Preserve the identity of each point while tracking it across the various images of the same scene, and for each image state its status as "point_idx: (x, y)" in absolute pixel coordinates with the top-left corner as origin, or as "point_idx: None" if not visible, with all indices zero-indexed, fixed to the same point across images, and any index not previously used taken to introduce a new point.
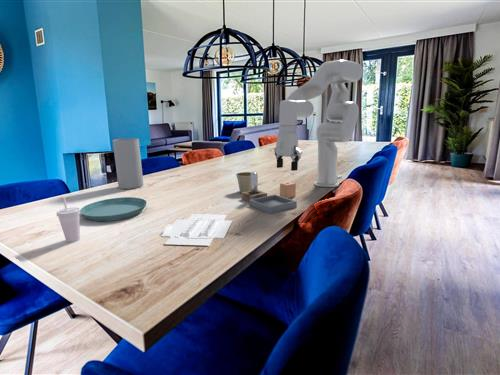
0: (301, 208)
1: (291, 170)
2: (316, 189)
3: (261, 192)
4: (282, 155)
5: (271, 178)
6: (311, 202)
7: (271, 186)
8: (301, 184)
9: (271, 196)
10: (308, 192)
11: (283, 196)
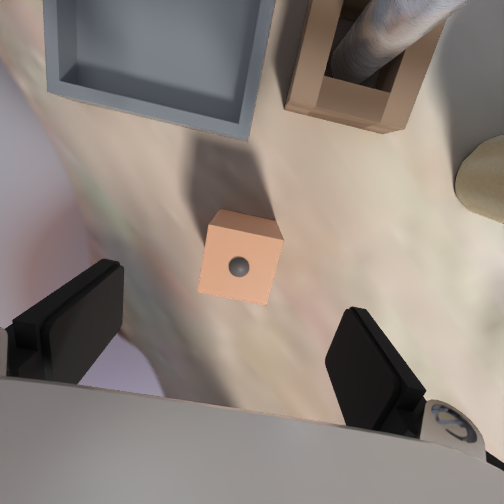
0: (38, 96)
1: (117, 261)
2: (213, 395)
3: (331, 87)
4: (231, 411)
5: (486, 433)
6: (85, 221)
7: (412, 332)
8: None
9: (244, 94)
10: (208, 344)
11: (247, 215)
